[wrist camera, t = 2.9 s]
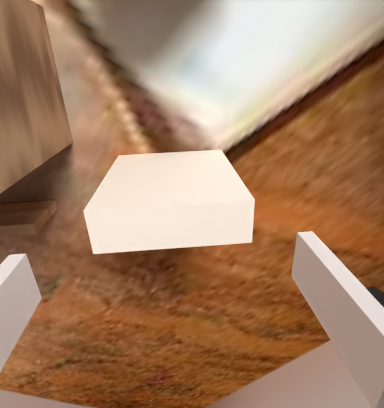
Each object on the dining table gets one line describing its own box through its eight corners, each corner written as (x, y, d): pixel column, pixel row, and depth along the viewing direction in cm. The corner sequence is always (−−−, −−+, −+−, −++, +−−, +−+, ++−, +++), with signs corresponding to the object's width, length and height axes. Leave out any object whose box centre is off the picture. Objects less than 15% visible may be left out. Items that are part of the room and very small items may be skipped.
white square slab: (118, 155, 27) (83, 210, 16) (221, 149, 27) (254, 199, 16) (124, 195, 29) (96, 269, 18) (220, 189, 29) (250, 257, 18)
